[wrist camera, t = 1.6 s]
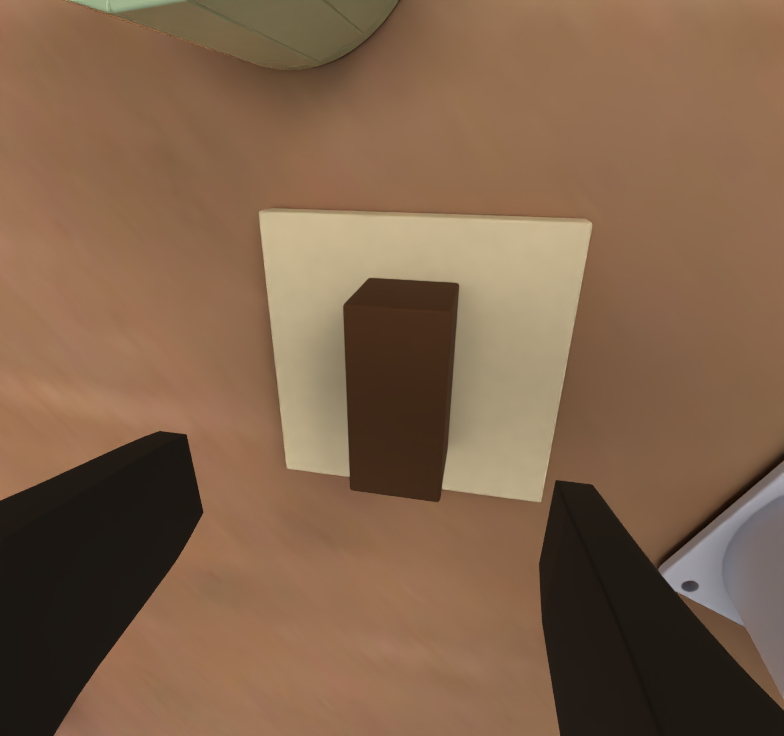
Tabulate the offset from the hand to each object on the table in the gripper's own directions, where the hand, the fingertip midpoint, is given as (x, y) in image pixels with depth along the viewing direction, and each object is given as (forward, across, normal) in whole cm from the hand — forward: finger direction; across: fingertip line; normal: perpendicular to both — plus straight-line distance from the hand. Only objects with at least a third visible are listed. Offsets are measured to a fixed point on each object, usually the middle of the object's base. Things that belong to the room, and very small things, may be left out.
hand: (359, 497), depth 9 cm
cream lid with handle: (+7, 0, 0) cm, 7 cm away
